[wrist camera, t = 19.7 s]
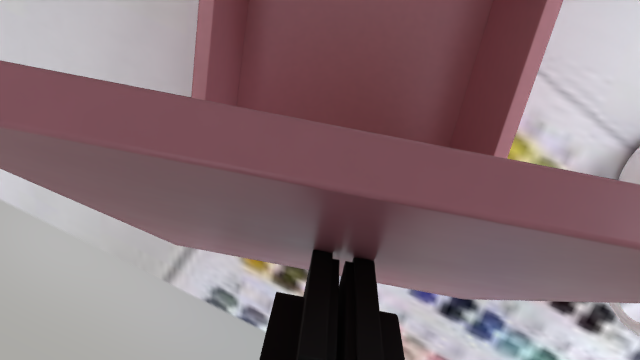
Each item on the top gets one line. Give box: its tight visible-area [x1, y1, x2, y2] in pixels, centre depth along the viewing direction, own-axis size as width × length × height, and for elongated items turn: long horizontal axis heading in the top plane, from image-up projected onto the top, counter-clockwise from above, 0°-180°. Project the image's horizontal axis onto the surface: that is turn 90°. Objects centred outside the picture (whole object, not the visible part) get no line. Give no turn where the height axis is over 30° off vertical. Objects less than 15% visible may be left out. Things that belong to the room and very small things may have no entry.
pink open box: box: [191, 0, 563, 159], centre depth 21 cm, size 15×13×7 cm
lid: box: [0, 61, 640, 303], centre depth 13 cm, size 16×13×1 cm
